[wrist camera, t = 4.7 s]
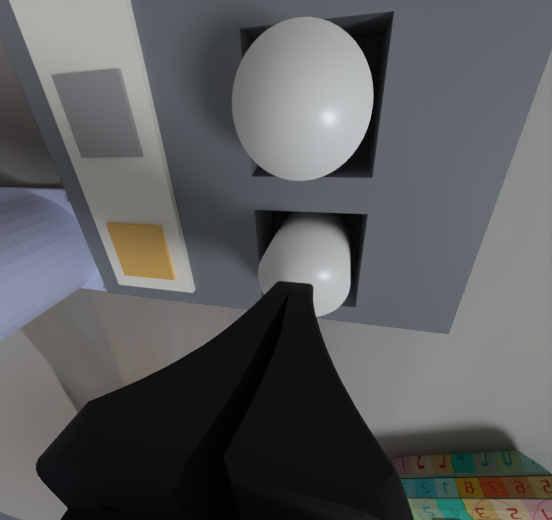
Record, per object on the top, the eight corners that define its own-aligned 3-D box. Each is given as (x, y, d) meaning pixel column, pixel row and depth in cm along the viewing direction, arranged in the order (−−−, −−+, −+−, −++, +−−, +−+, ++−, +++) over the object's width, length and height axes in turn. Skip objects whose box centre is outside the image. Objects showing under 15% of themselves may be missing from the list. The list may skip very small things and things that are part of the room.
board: (137, 268, 20) (101, 297, 17) (-11, -173, 11) (-150, -280, 8) (432, 297, 16) (451, 341, 13) (641, -408, 6) (907, -872, 3)
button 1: (278, 269, 17) (260, 312, 13) (276, 205, 15) (254, 236, 11) (346, 275, 16) (346, 322, 12) (353, 208, 14) (355, 242, 10)
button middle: (269, 159, 13) (239, 180, 9) (263, 51, 11) (223, 25, 7) (359, 159, 12) (364, 182, 8) (371, 40, 10) (384, 6, 6)
